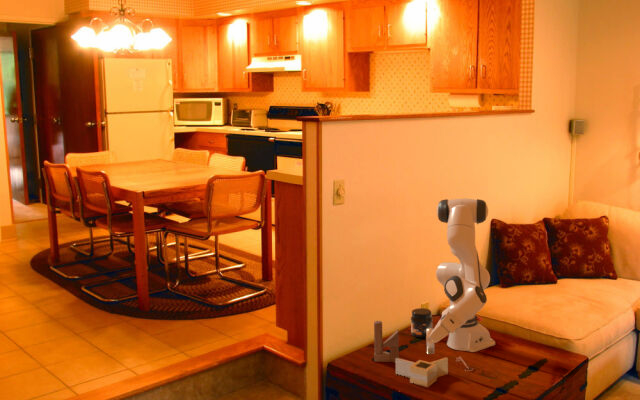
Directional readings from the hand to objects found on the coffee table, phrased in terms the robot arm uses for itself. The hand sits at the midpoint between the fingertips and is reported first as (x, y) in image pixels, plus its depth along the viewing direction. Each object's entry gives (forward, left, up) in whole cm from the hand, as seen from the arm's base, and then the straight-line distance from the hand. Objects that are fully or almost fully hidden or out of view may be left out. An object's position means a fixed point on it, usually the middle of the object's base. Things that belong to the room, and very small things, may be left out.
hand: (428, 338), depth 253 cm
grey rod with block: (+6, -26, -19) cm, 33 cm away
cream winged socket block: (0, -7, -18) cm, 20 cm away
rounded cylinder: (0, 0, -6) cm, 6 cm away
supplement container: (-24, -46, -19) cm, 55 cm away
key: (-22, -8, -19) cm, 30 cm away
